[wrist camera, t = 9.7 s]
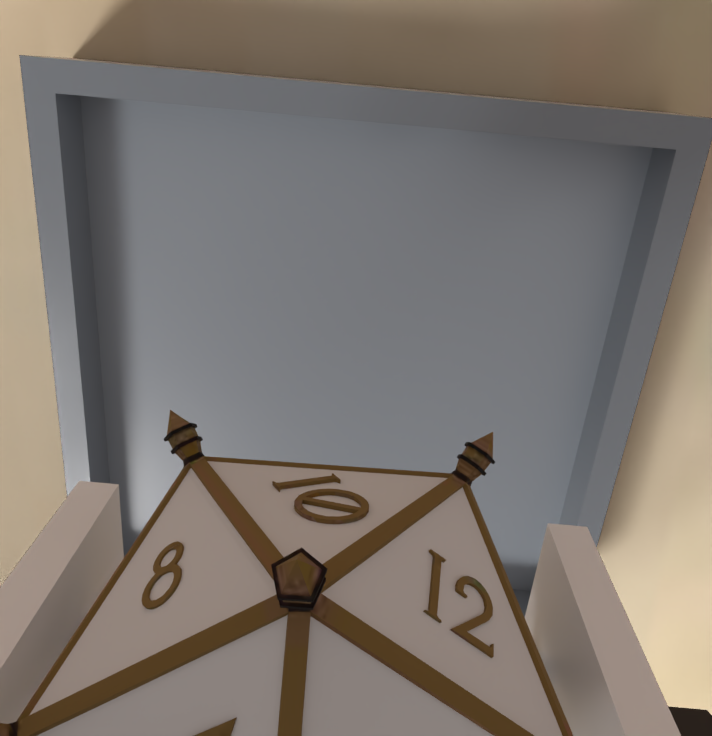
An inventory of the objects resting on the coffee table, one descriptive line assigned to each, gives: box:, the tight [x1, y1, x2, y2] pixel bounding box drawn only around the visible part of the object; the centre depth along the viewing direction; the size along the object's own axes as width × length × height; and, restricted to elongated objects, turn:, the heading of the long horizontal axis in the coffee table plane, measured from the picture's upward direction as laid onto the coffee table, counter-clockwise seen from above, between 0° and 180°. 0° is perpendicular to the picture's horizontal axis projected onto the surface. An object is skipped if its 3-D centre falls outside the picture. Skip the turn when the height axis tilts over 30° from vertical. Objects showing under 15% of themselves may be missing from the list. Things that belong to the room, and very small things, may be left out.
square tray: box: [20, 55, 712, 618], centre depth 21 cm, size 17×17×3 cm
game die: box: [0, 410, 573, 736], centre depth 10 cm, size 9×8×10 cm
